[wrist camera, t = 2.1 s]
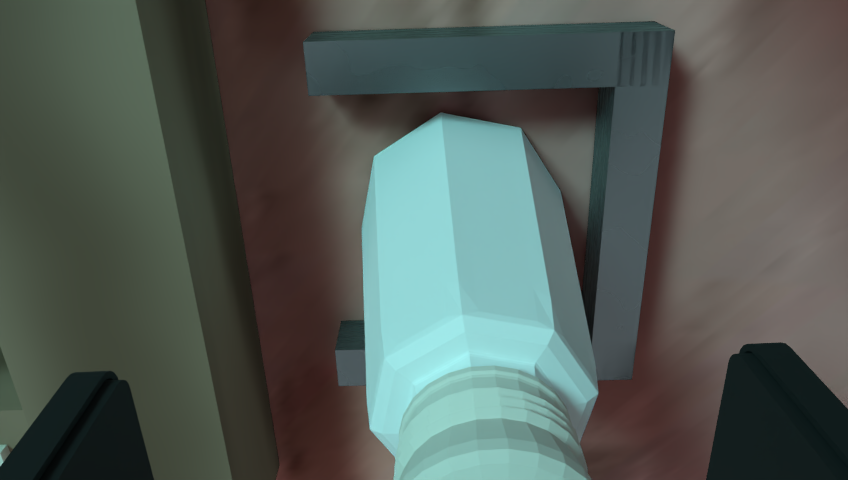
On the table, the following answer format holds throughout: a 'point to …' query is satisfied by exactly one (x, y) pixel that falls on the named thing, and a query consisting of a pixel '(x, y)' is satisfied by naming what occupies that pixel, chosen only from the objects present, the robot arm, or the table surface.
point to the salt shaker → (473, 309)
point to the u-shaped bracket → (537, 69)
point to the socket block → (126, 232)
